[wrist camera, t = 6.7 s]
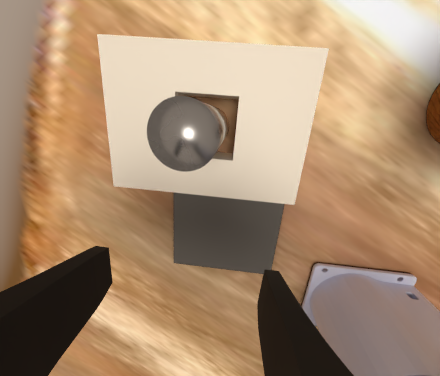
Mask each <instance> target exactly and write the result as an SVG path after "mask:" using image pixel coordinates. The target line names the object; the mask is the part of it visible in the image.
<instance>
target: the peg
mask: <svg viewBox="0 0 440 376" xmlns="http://www.w3.org/2000/svg"><path fill="white" fill-rule="evenodd" d="M228 131H229V121H228V118H227V116H226V115H225V113H224V112H223V111H222V110H220V109H219V108H216V107H214V106H211V105H209V104H206V103H204V102H201V101H199V100H197V99H194V98H191V97H187V96H174V97H170V98H167V99H165V100H163V101H162V102H160V103H159V104H158V105H157V106H156V107H155V108H154V110H153V111H152V113H151V115H150V117H149V120H148V124H147V139H148V143H149V146H150V148H151V150H152V152H153V154H154V155H155V156H156V158H157V159H158V160H159V161H160V162H161V163H163V164H164V165H165V166H167V167H169V168H171V169H173V170H177V171H182V172H188V171H194V170H197V169H200V168H202V167H203V166H205V165H206V164H207V163H208V162H209V161H210V160H211V159H212V158H213V156H214V155H215V153H216V152H217V150H218V148H219V147H220V145H221V144H222V142H223V141H224V139H225V137H226V136H227V134H228Z"/></svg>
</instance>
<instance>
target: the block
mask: <svg viewBox="0 0 440 376" xmlns="http://www.w3.org/2000/svg"><path fill="white" fill-rule="evenodd" d="M97 36H98V46H99V55H100V64H101V73H102V83H103V92H104V101H105V110H106V120H107V129H108V138H109V147H110V157H111V166H112V175H113V184H114V186H117V187H126V188H136V189H146V190H155V191H165V192H175V193H184V194H194V195H204V196H213V197H223V198H233V199H242V200H252V201H262V202H271V203H281V204H291V205H295V200H296V196H297V191H298V187H299V182H300V177H301V173H302V168H303V164H304V159H305V155H306V150H307V146H308V141H309V137H310V132H311V127H312V123H313V118H314V114H315V109H316V105H317V100H318V96H319V91H320V87H321V82H322V77H323V73H324V68H325V64H326V59H327V55H328V50H329V48H315V47H299V46H283V45H266V44H250V43H234V42H217V41H201V40H185V39H168V38H152V37H136V36H119V35H103V34H97ZM174 96H197V97H210V98H223V99H237V100H239V104H238V114H237V124H236V134H235V144H234V153H225V152H216V153H215V155H214V156H213V158H212V159H211V160H210V161H209V162H208V163H207V164H206V165H205V166H203V167H202V168H200V169H197V170H194V171H188V172H182V171H177V170H173V169H171V168H169V167H167V166H165V165H164V164H163V163H161V162H160V161H159V160H158V159H157V158H156V156H155V155H154V154H153V152H152V150H151V148H150V146H149V143H148V139H147V124H148V120H149V117H150V115H151V113H152V111H153V110H154V108H155V107H156V106H157V105H158V104H159V103H160V102H162V101H163V100H165V99H167V98H170V97H174Z"/></svg>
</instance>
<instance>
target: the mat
mask: <svg viewBox="0 0 440 376" xmlns="http://www.w3.org/2000/svg"><path fill="white" fill-rule="evenodd" d="M283 209H284V204H281V203H271V202H262V201H252V200H242V199H233V198H223V197H213V196H204V195H194V194H184V193H175V192H174V263H178V264H186V265H194V266H202V267H211V268H219V269H227V270H235V271H243V272H251V273H259V274H264V270H265V269H266V270H271V269H272V264H273V259H274V254H275V249H276V244H277V239H278V234H279V229H280V224H281V219H282V214H283Z"/></svg>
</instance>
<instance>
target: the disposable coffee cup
mask: <svg viewBox="0 0 440 376" xmlns="http://www.w3.org/2000/svg"><path fill="white" fill-rule="evenodd" d="M427 126H428V130H429V132H430V134H431V135H432V137H433V138H434V139H435V140H436V141H437V142H439V143H440V84H439V85H438V87H437V88H436V90H435V91H434V93H433V95H432V97H431V99H430V102H429V105H428V109H427Z"/></svg>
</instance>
